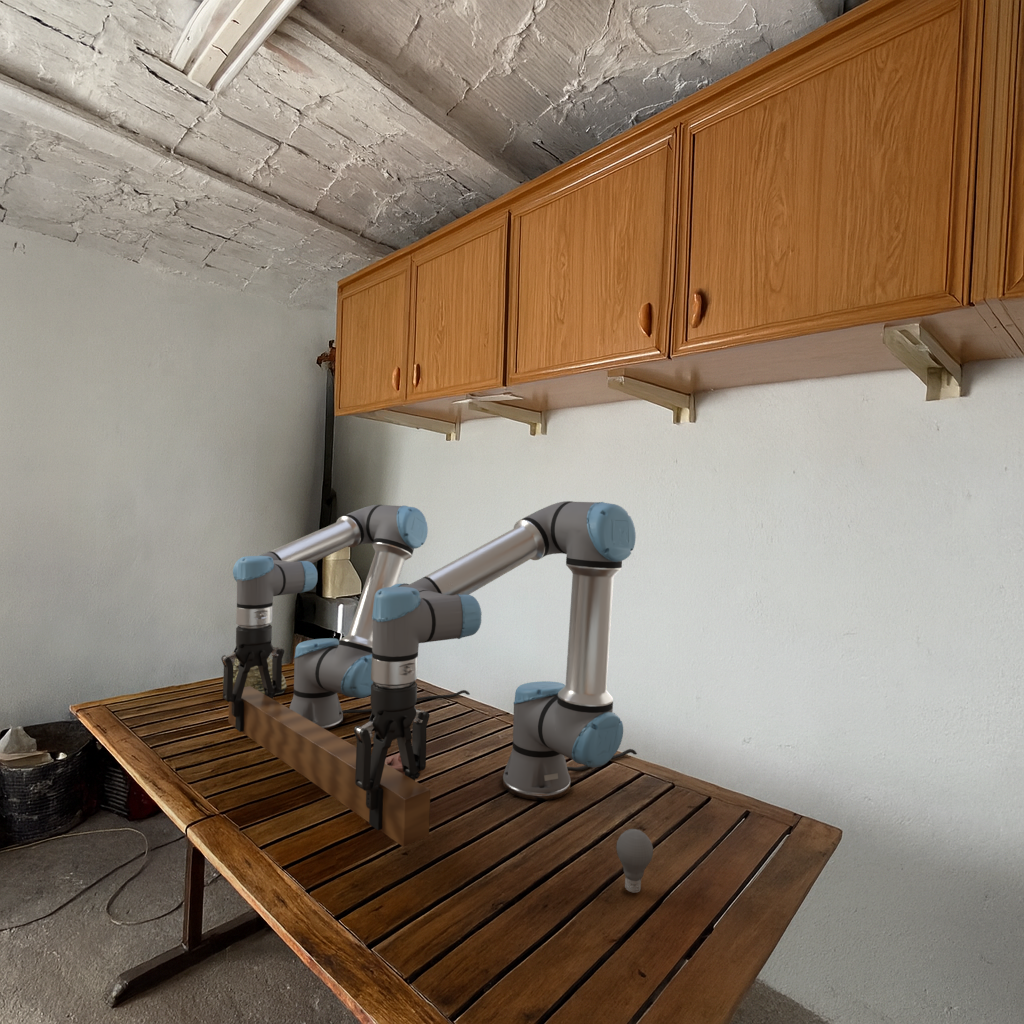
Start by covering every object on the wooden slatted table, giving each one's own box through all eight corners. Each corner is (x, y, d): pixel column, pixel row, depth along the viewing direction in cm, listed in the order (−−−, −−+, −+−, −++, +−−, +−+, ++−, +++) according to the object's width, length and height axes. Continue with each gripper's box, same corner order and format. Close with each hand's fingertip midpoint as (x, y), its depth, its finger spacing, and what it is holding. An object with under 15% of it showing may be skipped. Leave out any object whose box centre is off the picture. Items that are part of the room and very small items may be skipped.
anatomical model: (353, 759, 143) (374, 741, 154) (352, 777, 143) (373, 757, 154) (408, 767, 140) (426, 748, 152) (408, 785, 140) (425, 764, 152)
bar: (228, 722, 147) (228, 690, 147) (249, 717, 150) (250, 686, 150) (403, 847, 98) (405, 799, 98) (429, 835, 102) (430, 789, 102)
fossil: (218, 695, 195) (220, 647, 195) (278, 685, 208) (279, 640, 207) (228, 703, 189) (230, 653, 188) (289, 692, 201) (290, 645, 201)
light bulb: (610, 879, 108) (613, 822, 108) (644, 879, 109) (647, 822, 109) (619, 902, 102) (622, 840, 102) (655, 901, 103) (658, 840, 103)
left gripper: (219, 633, 134) (216, 741, 135) (299, 622, 147) (297, 722, 147) (206, 627, 139) (204, 731, 140) (285, 617, 152) (283, 713, 153)
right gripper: (358, 698, 96) (354, 850, 96) (451, 677, 108) (446, 811, 109) (333, 686, 101) (329, 830, 102) (424, 667, 114) (420, 795, 114)
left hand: (252, 726), depth 144 cm, fingers closed on bar, 5 cm apart
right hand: (390, 820), depth 105 cm, fingers closed on bar, 5 cm apart
